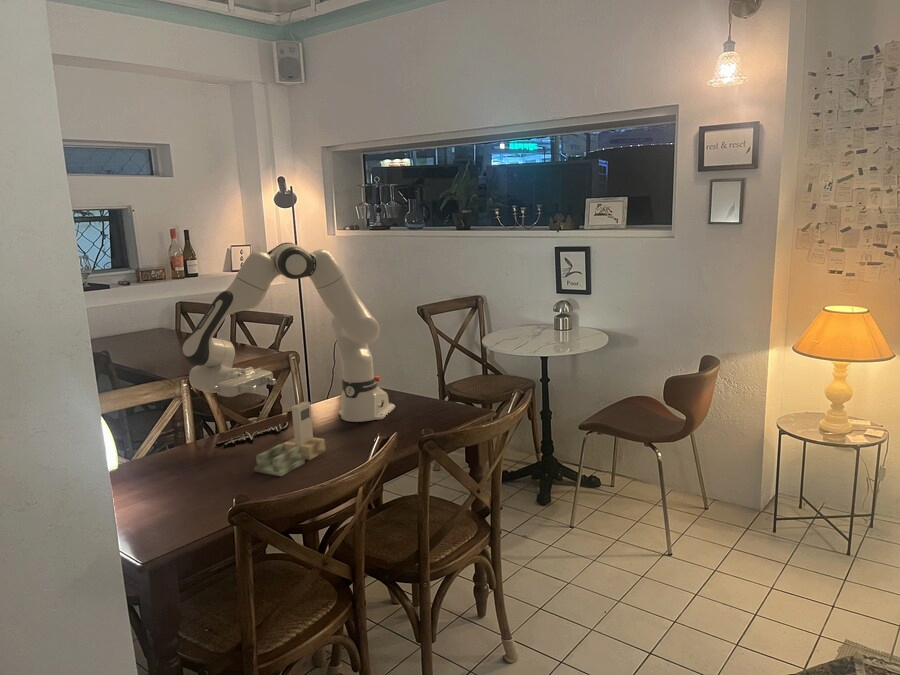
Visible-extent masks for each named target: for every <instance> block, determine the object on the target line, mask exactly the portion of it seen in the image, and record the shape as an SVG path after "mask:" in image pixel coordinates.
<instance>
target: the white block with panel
mask: <svg viewBox="0 0 900 675" xmlns="http://www.w3.org/2000/svg"><path fill="white" fill-rule="evenodd" d="M311 405H312V404H311V402H310V401H302V402H299V403H297V404H296V405H293V406H291V414H292V416H291V418H292V426H293V438H294V440H295V444H298V445H302V444H304V443H306V442H308V441H310V440H312V439H313V437H314V433H313V420H312V408H311Z"/></svg>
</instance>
